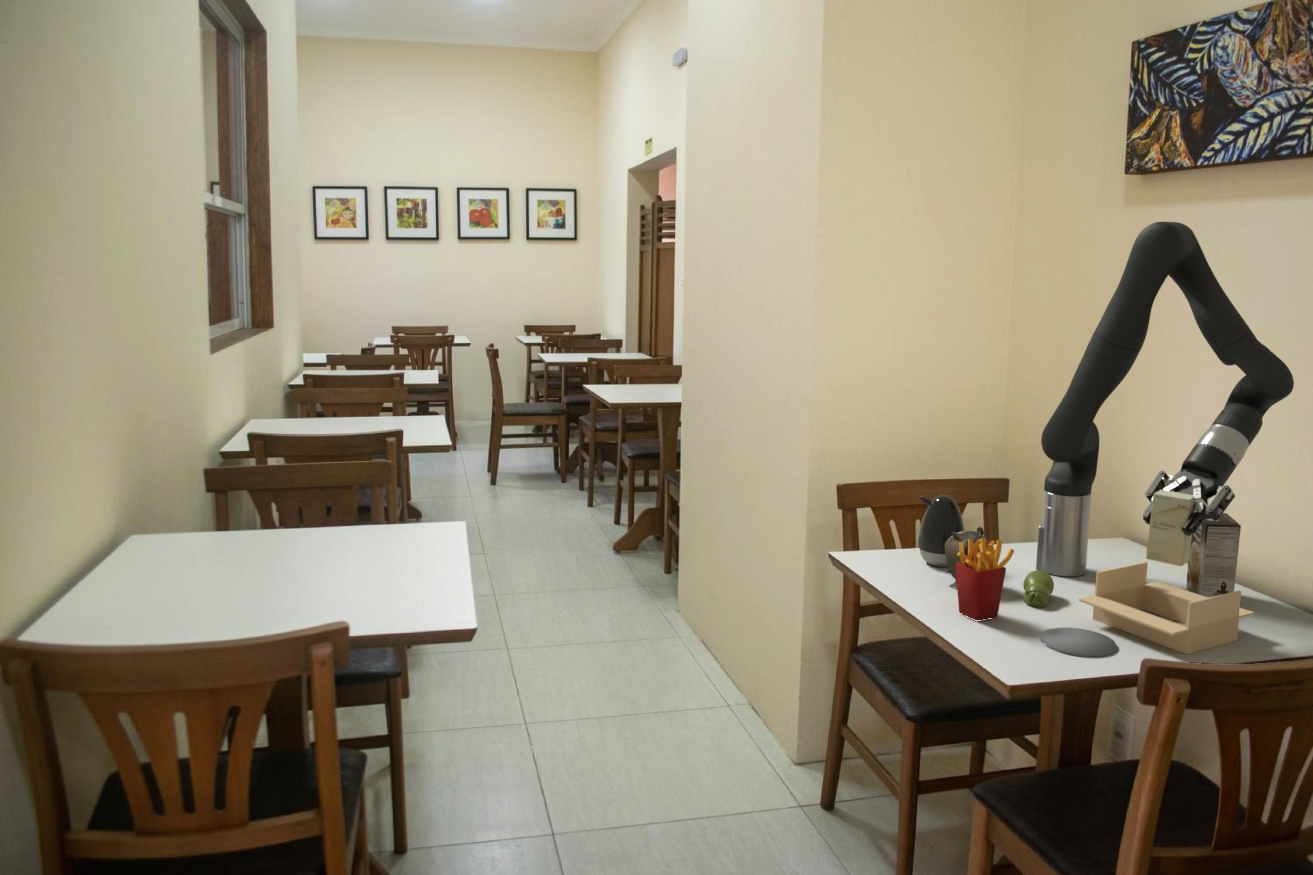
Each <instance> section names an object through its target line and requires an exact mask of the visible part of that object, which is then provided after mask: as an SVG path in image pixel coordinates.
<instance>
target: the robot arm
mask: <svg viewBox="0 0 1313 875" xmlns="http://www.w3.org/2000/svg"><path fill="white" fill-rule="evenodd" d="M1133 242H1134V243H1133V244H1132V248H1131V250H1130V252H1129V256H1128V259H1127V262H1126V264H1125V268H1124V270H1123V273H1122V275H1121V278H1120V281H1119V283H1118V285H1117V288H1115V289H1116V290H1115V291H1114V293H1113V295H1112V297H1111V298H1110V301H1109V302H1108V304H1107V306H1106V309H1105V310H1104V312H1103V314H1102V316H1101V319H1100V320H1099V323H1098V324H1097V326H1096V328H1095V329H1094V331H1093V333H1092V336H1091V337H1090V339H1089V341H1088V344H1087V346H1086V348H1085V351H1084V353H1083V355H1082V358H1081V359H1080V362H1079V364H1078V365H1077V367H1076V370H1075V372H1074V375H1073V377H1072V378H1071V381H1070V384H1069V386H1068V389H1067V390H1066V392H1065V394H1064V396H1063V398H1062V399H1061V401H1060V402H1059V404H1058V405H1057V407H1056V408H1055V410H1054V412H1053V414H1052V415H1051V417H1050V418H1049V419H1048V422H1047V423H1046V424H1045V426H1044V428H1043V430H1042V434H1041V441H1040V442H1041V443H1040V444H1041V448H1042V451H1043V453H1044V454H1045V455H1046V457H1047V458H1048V459H1049V460H1051V461H1052V465H1051V469H1050V470H1049V472H1048V473H1047V474H1046V476H1045V479H1044V484H1043V486H1044V487H1043V501H1042V502H1043V504H1042V505H1043V506H1042V517H1041V518H1042V519H1041V521H1042V522H1041V524H1040V525H1039V526H1038V530H1037V531H1038V532H1037V547H1036V562H1035V570H1040V571H1044V572H1046V573H1048V574H1049V575H1055V576H1061V577H1079V576H1080V577H1081V576H1083V575H1085V574H1086V572H1087V563H1088V562H1087V560H1088V558H1087V556H1088V545H1089V544H1088V543H1089V530H1090V519H1091V518H1090V517H1091V516H1090V515H1091V501H1092V500H1091V499H1092V487H1093V484H1094V481H1095V480H1096V475H1097V469H1098V462H1099V455H1100V454H1099V453H1100V433H1099V429H1098V427H1097V425H1096V423H1095V422H1094V421H1095V418H1096V415H1098V412H1099V411H1100V408H1101V407H1102V406H1103V404H1104V403H1105V401H1106V400H1107V399H1108V398H1109V396H1111V395H1112V393H1113V392H1114V391H1115V390H1116V389H1117V387H1119V385H1120V384H1121V383H1122V382H1123V380H1124V379H1125V378H1126V376H1127V375H1128V373H1129V372H1130V370H1131V369H1132V367H1133V365H1134V364H1135V362H1136V360H1137V358H1138V356H1139V354H1140V352H1141V350H1142V348H1143V346H1144V343H1145V341H1146V338H1147V335H1148V330H1149V326H1150V320H1151V313H1152V309H1153V305H1154V302H1155V299H1156V297H1157V295H1158V294H1159V292H1160V290H1161V288H1162V286H1163V284H1164V283H1165V281H1166V279H1167V278H1168V277H1170V278H1171V279H1172V280H1173V282H1174V283H1175V284H1176V285H1177V286H1178V288H1179V289H1180V290H1181V291H1182V293H1183V295H1184V297H1185V299H1186V300H1187V302H1188V305H1189V307H1190V309H1191V312H1192V314H1193V315H1192V316H1193V317H1194V320H1195V322H1196V325H1197V326H1198V329H1199V330H1200V333H1201V334H1202V336H1203V337H1204V339H1205V341H1206V342H1207V344H1208V345H1209V346H1210V348H1211V350H1212V351H1213V352H1214V354H1215V355H1216V357H1217V358H1218V359H1219V361H1220V362H1221V363H1222V364H1223V365H1226V366H1230V367H1231V366H1237V368H1239V370H1241V371H1242V372H1243V373H1244V374H1245V375H1244V376H1243V377H1242V378H1241V379H1240V380H1238V382H1237V383H1236V384H1235V386H1234V387H1233V388H1232V390H1231V392H1230V394H1229V395H1228V398H1227V401H1226V403H1225V405H1224V408H1223V409H1222V410H1221V411H1220V412H1219V414H1218V415H1217V416H1216V418H1215V419H1214V420H1213V421H1212V423H1211V425H1210V427H1209V428H1208V429H1207V430H1206V431H1205V432H1204V433H1203V434H1201V437H1200V438H1199V439H1198V441H1197V442H1196V443H1195V445H1194V446H1193V448H1192V449H1191V451H1190V452H1189V453H1188V455H1187V457H1186V458H1185V459H1184V460H1183V462H1182V464H1181V468H1180V470H1179V471H1178V472H1177V473H1176V474H1174V475H1171V474H1167V473H1166V471H1165V470H1161V471H1159V472H1158V473H1157V475H1156V476H1155V477H1154V479H1153V481H1152V482H1151V484H1150V485H1149V487H1148V488H1147V489H1146V491H1145V493H1144V495H1145V497H1146V498H1147V500H1148V501H1149V504H1148V506H1147V507H1146V509H1145V510H1144V511H1143V514H1142V519H1143V521H1144V523H1145V524H1146V525H1149V526H1150V519H1151V510H1152V502H1153V494H1154V493H1155V492H1157V491H1159V490H1166V491H1172V492H1179V493H1184V494H1189V495H1193V497H1195V498H1194V502H1195V513H1194V512H1192V513H1191V515H1190V516H1189V517H1188V519H1187V520H1186V522H1185V523H1184V525H1183V526H1182V531H1183V533H1184V534H1185V535H1188V536H1190V535H1191V534H1193V533H1195V532H1196V531H1197V529H1198V528H1199V526H1200V525H1201V523H1202V522H1203V521H1205V520H1207V519H1212V520H1218V519H1219V518H1220V516H1221V515H1222V514H1223V513H1225V512H1226V510H1227V509H1228V507H1229V505H1230V504H1231V503H1232V502H1233V500H1234V499H1235V498H1236V495H1235V493H1234V491H1233V490H1232V488H1231V487H1230V485H1227V484H1226V483H1227V481H1228V480H1229V478H1231V476H1232V475H1233V473H1234V471H1235V470H1236V469H1237V467H1238V465H1239V464H1240V462H1241V461H1242V460H1243V459H1244V457H1245V455H1246V452H1247V451H1248V448H1249V447H1250V446H1251V444H1252V442H1254V440H1255V439H1256V436H1257V435H1258V434H1259V432H1260V430H1261V428H1262V427H1263V417H1264V416H1265V414H1266V413H1267V412H1268V410H1269V409H1271V407H1272V406H1274V405H1276V404H1277V403H1279V402H1281V401H1282V400H1284V399H1285V398H1287V397H1288V396H1289V395H1291V393H1292V391H1293V389H1294V387H1295V382H1294V376H1293V374H1292V372H1291V370H1290V369H1289V367H1288V366H1287V364H1286V363H1285V362H1284V361H1283V360H1282V359H1281V358H1280V357H1278V356H1277V355H1276V354H1275V353H1274V352H1273V351H1272V350H1270V348H1268V347H1267V346H1266V345H1264V344H1263V343H1262V342H1261V341H1260V340H1259V339H1257V337H1256V335H1255V334H1254V332H1253V331H1252V329H1251V328H1250V327H1249V325H1248V324H1247V322H1246V321H1245V319H1244V318H1243V316H1242V315H1241V313H1240V312H1239V311H1238V309H1237V308H1236V307H1235V306H1234V304H1233V302H1232V301H1231V300H1230V298H1229V297H1228V295H1227V294H1226V292H1225V291H1224V289H1223V287H1222V286H1221V284H1220V283H1219V281H1218V279H1217V277H1216V276H1215V273H1214V272H1213V270H1212V268H1211V266H1210V265H1209V262H1208V260H1207V258H1206V256H1205V254H1204V251H1203V249H1202V247H1201V245H1200V243H1199V240H1198V239H1197V236H1196V235H1195V233H1194V231H1193V230H1192V228H1190V227H1189V226H1188V225H1186V224H1185V223H1182V222H1177V221H1155V222H1153V223H1151V224H1149V225H1147V226H1145V227H1144V228H1143V229H1142V230H1141V231H1140V232H1139V234H1138V235H1137V236H1136V238H1135V240H1134V241H1133ZM1225 484H1226V485H1225ZM1214 496H1215V497H1214ZM1213 497H1214V498H1213ZM1210 498H1213V500H1212V501H1211V502H1210V503H1209V499H1210Z"/></svg>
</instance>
